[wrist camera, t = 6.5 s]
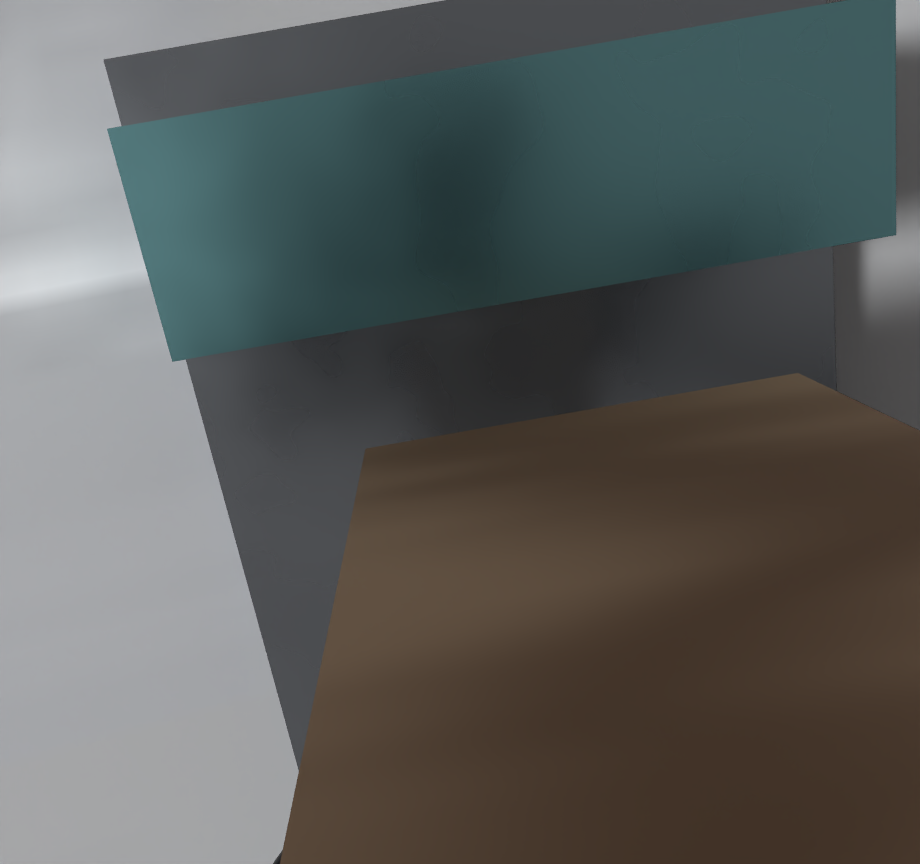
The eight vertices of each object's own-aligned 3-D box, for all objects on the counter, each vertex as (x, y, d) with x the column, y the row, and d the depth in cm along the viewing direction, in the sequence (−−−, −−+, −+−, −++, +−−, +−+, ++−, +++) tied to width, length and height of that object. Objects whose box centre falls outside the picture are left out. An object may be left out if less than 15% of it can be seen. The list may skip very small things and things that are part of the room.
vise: (832, 965, 21) (945, 1174, 17) (386, 1044, 21) (378, 1275, 17) (797, -49, 14) (977, -162, 9) (125, 68, 14) (-13, 10, 9)
